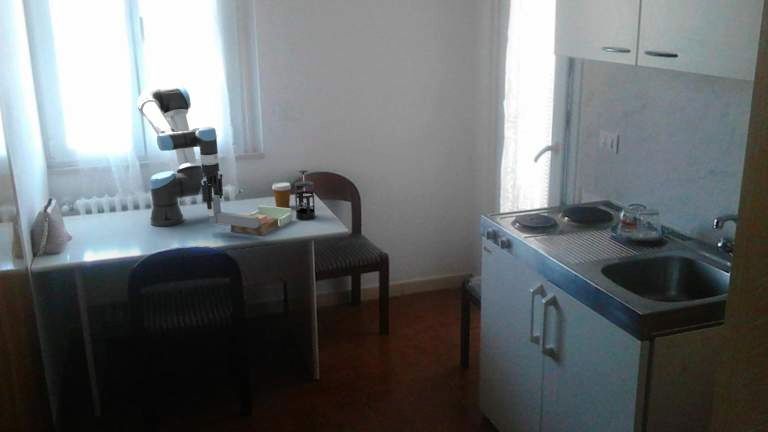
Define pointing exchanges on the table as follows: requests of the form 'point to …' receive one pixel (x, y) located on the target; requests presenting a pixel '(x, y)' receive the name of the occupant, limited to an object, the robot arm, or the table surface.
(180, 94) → the robot arm
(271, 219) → the brown wooden board
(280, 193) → the disposable coffee cup
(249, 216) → the scraper
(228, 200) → the table surface
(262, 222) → the tile
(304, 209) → the french press
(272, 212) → the tray
